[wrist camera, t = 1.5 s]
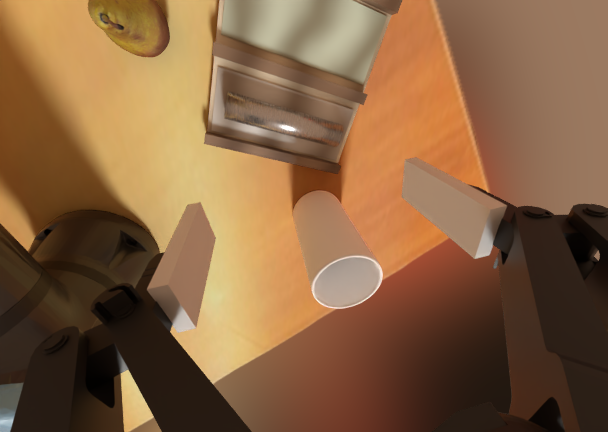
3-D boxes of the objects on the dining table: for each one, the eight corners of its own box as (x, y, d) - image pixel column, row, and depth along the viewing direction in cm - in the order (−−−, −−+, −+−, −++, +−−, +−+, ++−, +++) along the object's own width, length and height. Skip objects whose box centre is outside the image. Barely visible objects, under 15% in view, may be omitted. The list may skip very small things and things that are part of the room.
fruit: (152, -20, 23) (74, -89, 13) (186, 48, 27) (144, 34, 16) (100, 1, 24) (-17, -51, 13) (139, 67, 27) (69, 65, 17)
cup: (300, 185, 37) (326, 251, 24) (347, 195, 40) (395, 260, 26) (287, 229, 41) (302, 306, 28) (331, 235, 43) (365, 310, 30)
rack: (207, 138, 32) (204, 143, 29) (228, -75, 22) (225, -90, 20) (333, 168, 37) (337, 174, 35) (391, 4, 28) (402, -2, 25)
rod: (226, 117, 29) (223, 120, 27) (229, 90, 28) (226, 91, 25) (331, 144, 33) (337, 150, 31) (338, 122, 32) (345, 126, 29)
